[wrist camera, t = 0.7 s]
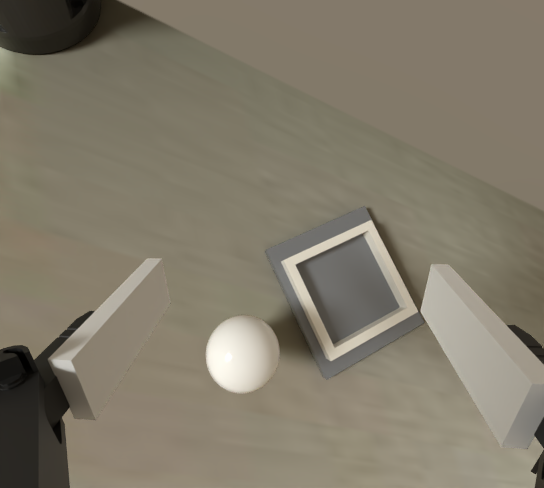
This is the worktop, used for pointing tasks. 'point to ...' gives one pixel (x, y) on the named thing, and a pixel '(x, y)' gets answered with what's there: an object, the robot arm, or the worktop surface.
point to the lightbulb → (242, 354)
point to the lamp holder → (344, 290)
